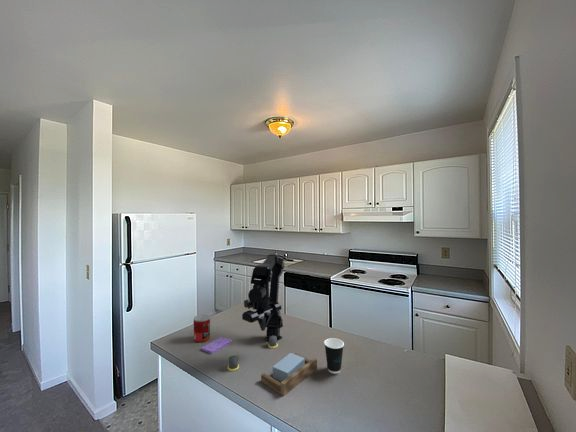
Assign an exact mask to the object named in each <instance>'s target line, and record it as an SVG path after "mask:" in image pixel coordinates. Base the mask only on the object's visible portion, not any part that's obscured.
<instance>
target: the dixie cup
mask: <svg viewBox="0 0 576 432" xmlns="http://www.w3.org/2000/svg"><path fill="white" fill-rule="evenodd" d="M323 345H324V350H325V356H326V357H325V358H326V366H327V371H328V372H329V373H330V374H333V375H336V374H340V373H341V370H342V362H343V361H342V360H343V352H344V346H345V343H344V341H343V340H341V339H339V338H336V337H335V338H334V337H333V338H332V337H330V338H327V339H325V340H324V341H323Z"/></svg>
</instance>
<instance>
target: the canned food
mask: <svg viewBox="0 0 576 432" xmlns="http://www.w3.org/2000/svg"><path fill="white" fill-rule="evenodd" d="M210 338H211V316H210V315H209V314H197V315H196V316H194V317H193V340H194V341H195V342H196V343H205V342H207V341H209V340H210Z"/></svg>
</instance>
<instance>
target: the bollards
mask: <svg viewBox="0 0 576 432" xmlns="http://www.w3.org/2000/svg"><path fill="white" fill-rule="evenodd" d="M277 341H278V340H277V337H276V336H270V337H269V340H268V344H267V347H268V348H270V349H276V348H277V347H279V344H278V343H277ZM239 369H240V364H239V356H238V355H231V356H229V357H228V365H227V371H229V372H235V371H236V372H237V370H239Z"/></svg>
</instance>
